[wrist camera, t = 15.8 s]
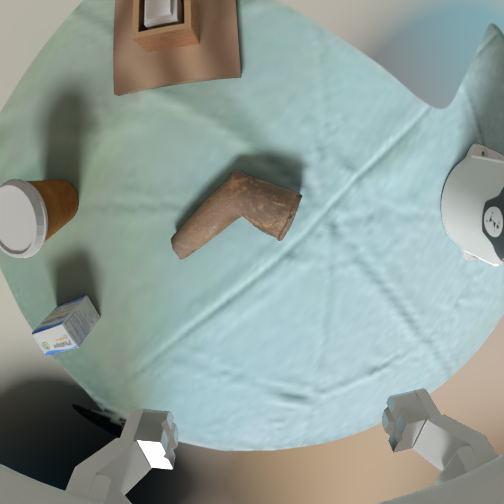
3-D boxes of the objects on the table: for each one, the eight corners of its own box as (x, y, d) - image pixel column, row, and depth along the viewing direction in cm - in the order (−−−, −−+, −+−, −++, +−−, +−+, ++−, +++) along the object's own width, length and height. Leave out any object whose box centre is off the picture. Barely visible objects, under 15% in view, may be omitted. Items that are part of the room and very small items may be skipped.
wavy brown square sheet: (233, -24, 29) (231, -56, 21) (240, 77, 34) (239, 59, 26) (119, -3, 29) (95, -27, 21) (118, 95, 34) (89, 86, 26)
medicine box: (88, 293, 43) (62, 321, 35) (101, 317, 45) (79, 348, 37) (56, 306, 44) (30, 333, 36) (69, 328, 46) (46, 357, 37)
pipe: (153, 243, 36) (209, 305, 37) (256, 144, 33) (318, 213, 34) (171, 234, 42) (219, 288, 43) (261, 150, 39) (313, 208, 40)
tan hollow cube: (198, 2, 29) (190, -19, 23) (199, 44, 31) (191, 27, 25) (148, 11, 29) (133, -7, 23) (148, 52, 31) (132, 39, 26)
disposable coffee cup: (97, 219, 40) (52, 246, 28) (52, 241, 41) (5, 271, 29) (74, 157, 37) (21, 165, 25) (30, 185, 38) (-22, 201, 26)
